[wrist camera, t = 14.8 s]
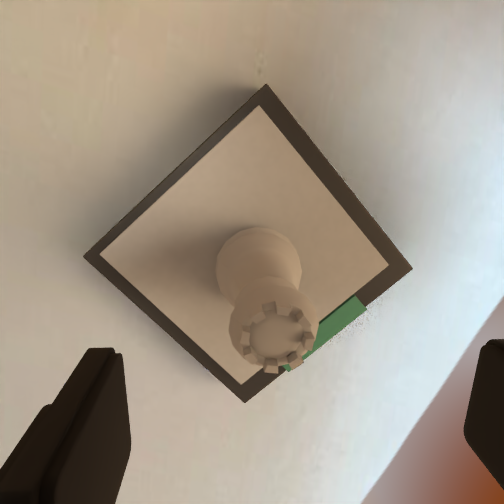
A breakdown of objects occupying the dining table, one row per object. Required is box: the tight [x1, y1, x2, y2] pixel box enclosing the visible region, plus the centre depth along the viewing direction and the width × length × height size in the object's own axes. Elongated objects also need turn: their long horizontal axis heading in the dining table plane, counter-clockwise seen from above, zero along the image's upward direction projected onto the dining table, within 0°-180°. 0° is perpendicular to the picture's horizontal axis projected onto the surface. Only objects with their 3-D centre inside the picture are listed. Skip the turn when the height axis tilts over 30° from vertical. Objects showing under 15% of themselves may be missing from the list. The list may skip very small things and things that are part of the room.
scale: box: [83, 84, 413, 403], centre depth 22 cm, size 13×13×3 cm
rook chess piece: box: [215, 227, 319, 374], centre depth 17 cm, size 4×4×8 cm
